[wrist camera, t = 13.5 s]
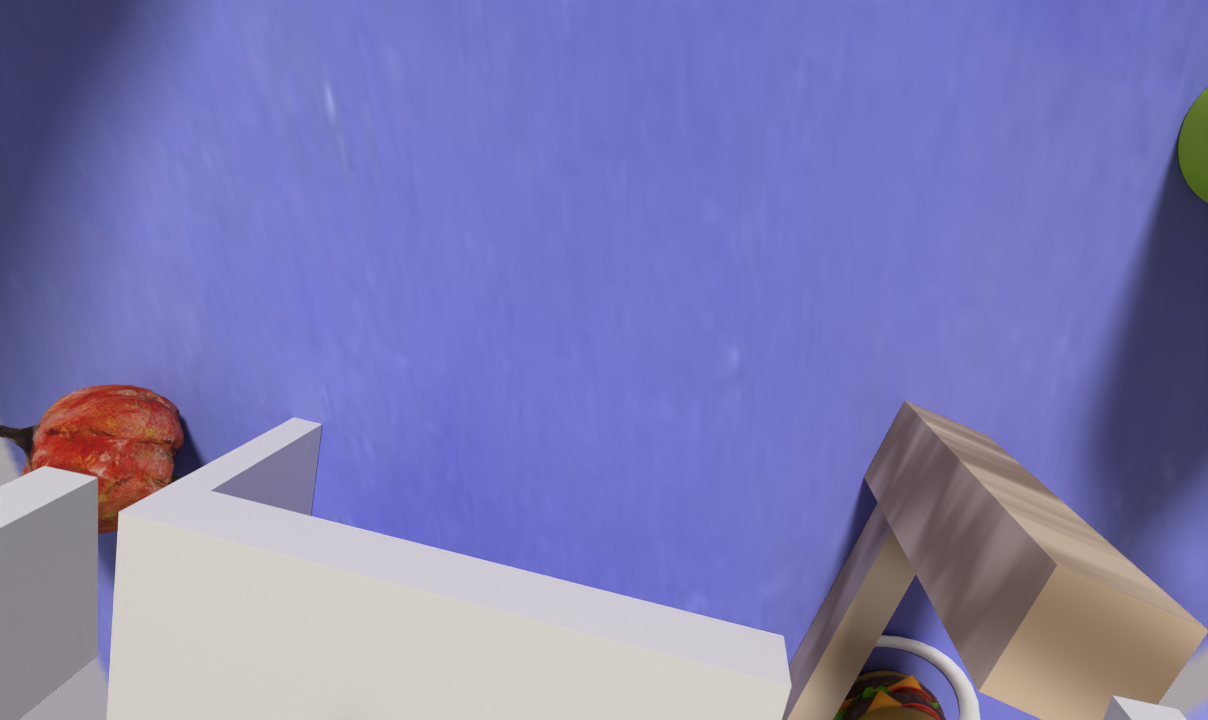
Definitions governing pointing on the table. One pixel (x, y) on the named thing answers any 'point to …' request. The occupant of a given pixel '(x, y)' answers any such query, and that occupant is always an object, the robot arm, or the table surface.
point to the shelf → (388, 620)
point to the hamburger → (906, 690)
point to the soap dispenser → (1195, 147)
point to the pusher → (992, 585)
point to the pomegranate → (107, 443)
